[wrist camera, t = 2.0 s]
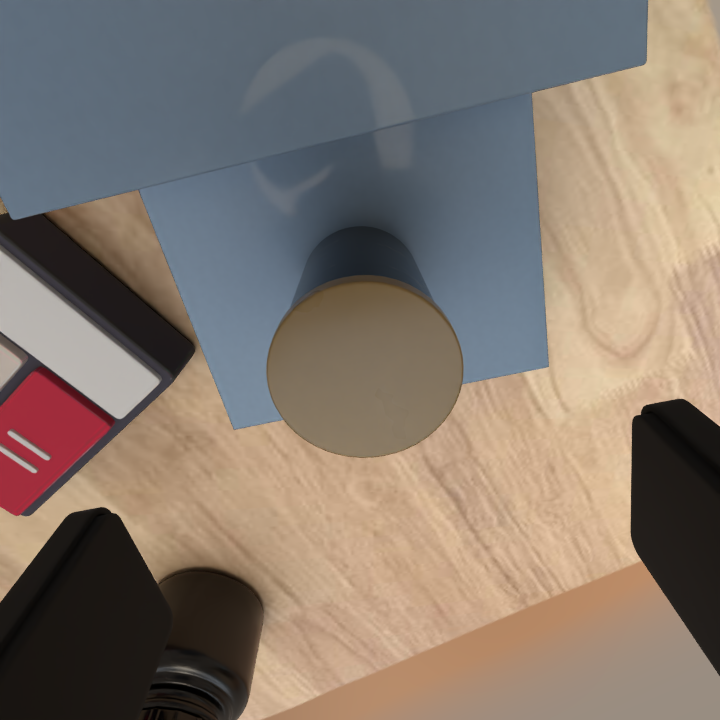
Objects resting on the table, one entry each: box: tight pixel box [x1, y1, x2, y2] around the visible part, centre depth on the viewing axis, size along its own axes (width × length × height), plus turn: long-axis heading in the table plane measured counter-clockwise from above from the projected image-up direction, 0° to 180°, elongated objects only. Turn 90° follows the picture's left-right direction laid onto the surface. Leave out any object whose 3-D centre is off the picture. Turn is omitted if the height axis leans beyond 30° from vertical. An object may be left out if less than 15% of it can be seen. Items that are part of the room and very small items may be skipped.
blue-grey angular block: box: [0, 0, 648, 430], centre depth 18 cm, size 22×16×13 cm
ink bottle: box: [138, 571, 263, 720], centre depth 32 cm, size 10×9×12 cm
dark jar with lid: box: [266, 226, 464, 458], centre depth 18 cm, size 6×6×9 cm
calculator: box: [0, 213, 195, 516], centre depth 27 cm, size 11×4×15 cm
